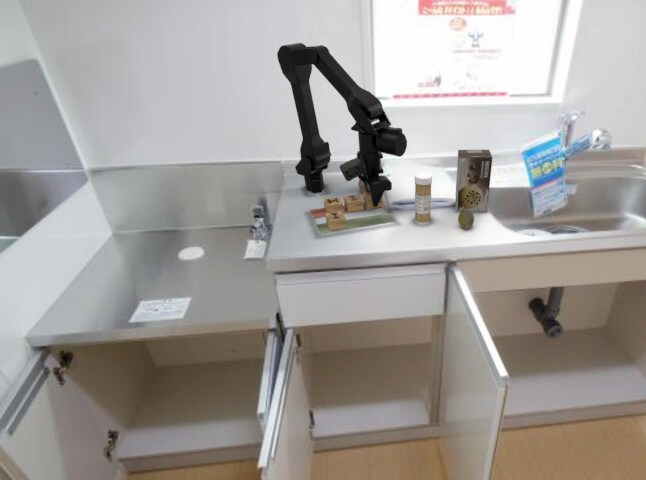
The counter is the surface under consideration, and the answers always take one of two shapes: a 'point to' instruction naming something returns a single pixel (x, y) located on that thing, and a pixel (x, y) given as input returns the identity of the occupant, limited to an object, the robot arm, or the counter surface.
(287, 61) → the robot arm
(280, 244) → the counter surface
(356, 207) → the tile
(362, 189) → the garlic bulb
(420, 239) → the counter surface
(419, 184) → the sprinkles bottle
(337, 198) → the tile
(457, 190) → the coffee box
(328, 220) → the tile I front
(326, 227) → the letter board
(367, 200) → the tile
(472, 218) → the lime
